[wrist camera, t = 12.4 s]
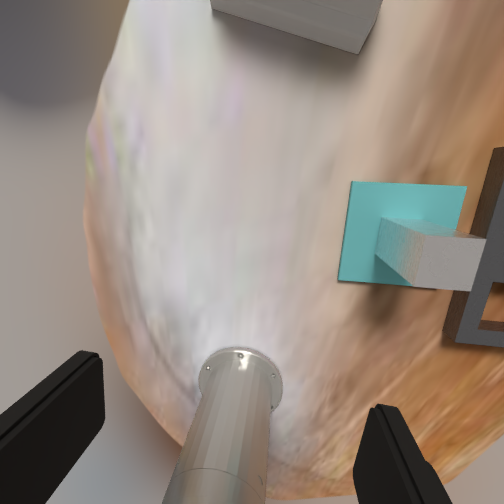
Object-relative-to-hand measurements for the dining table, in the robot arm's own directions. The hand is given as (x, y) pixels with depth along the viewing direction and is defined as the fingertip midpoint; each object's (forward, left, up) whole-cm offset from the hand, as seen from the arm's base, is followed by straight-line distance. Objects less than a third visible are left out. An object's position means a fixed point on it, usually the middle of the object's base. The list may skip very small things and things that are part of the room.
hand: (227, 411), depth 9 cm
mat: (+2, -15, -25) cm, 29 cm away
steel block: (+2, -15, -25) cm, 29 cm away
